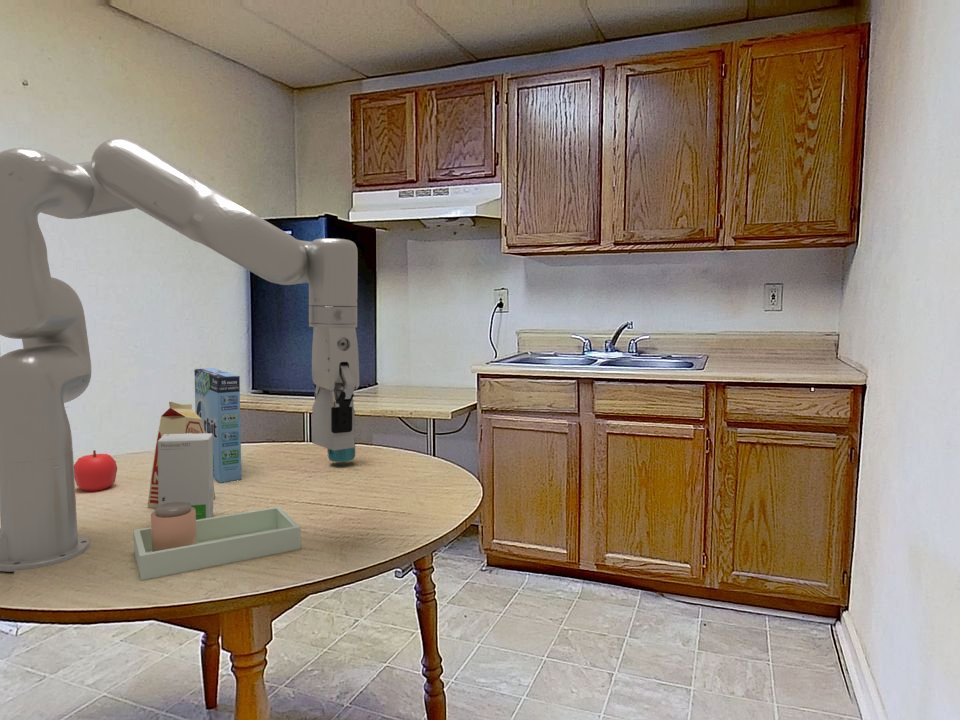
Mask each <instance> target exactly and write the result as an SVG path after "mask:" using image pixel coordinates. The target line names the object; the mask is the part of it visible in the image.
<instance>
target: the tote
mask: <svg viewBox="0 0 960 720" xmlns="http://www.w3.org/2000/svg"><path fill="white" fill-rule="evenodd" d="M132 531H133V553H134V556H135V561H136V565H137V570H138V573H139V577H140V581H141V582H142V581H146V580H152V579H154V578H155V579H156V578H161V577H165V576H167V577H168V576H171V575H172V576H173V575H176V574H181V573H186V572H190V571H195V570H196V571H197V570H200V569H201V570H203V569H206V568H212V567H217V566H222V565H226V564H233V563H238V562H243V561H246V560H252V559H257V558H262V557H266V556H267V557H268V556H272V555H277V554H278V555H279V554H282V553H286V552H287V553H288V552H293V551H298V550H301V549H302V537H301V534H302V532H301V531H302V530H301V526H300V525H299V524H298V523H297V522H296V521H295V520H294V519H293V518H292V517H291V516H290V515H289V514H288V513H287V512H286V511H285V510H284V509H283V508H282V507H281V506H280V505H279V506H274V507H267V508H262V509H255V510H247V511H243V512H236V513H231V514H224V515H218V516H213V517H211V518H205V519H199V520H196V534H197V544H194V545H188V546H182V547H177V548H171V549H166V550H160V551H155V552H152V534H151V526H150V527H144V528H138V529H133V530H132Z"/></svg>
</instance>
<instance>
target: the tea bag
mask: <svg viewBox="0 0 960 720" xmlns="http://www.w3.org/2000/svg"><path fill="white" fill-rule="evenodd" d="M338 387H344V385H342V386H338ZM339 396H340V393H338V398H339ZM353 406H354V405H353ZM353 406H352V431H351V432H344V433H333V432H332V431H331V407H334V405H333V399H332V393H331V391H330V390H327V389H324V388H320V391H319V393H318V396H317V398H316V400H315V399H314V402H313V405H312V407H311V408H312V409H311V411H312V412H311V413H312V420H311V421H312V425H311V426H312V428H311V429H312V431H311V432H312V433H311V434H312V439H311V440H312V441H311V443H312V444H314V445H316V446H320V447H322V448H325V449H327V448H328V449H331V450H334V451H335V450H341V449H348V448H354V436H355V434H354V433H356V431H355V430H356V428H355V427H356V426H355V420H356V418H355V416H356V414H355V412H356V411H355V409H354V408H353Z"/></svg>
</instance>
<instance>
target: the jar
mask: <svg viewBox="0 0 960 720" xmlns="http://www.w3.org/2000/svg"><path fill="white" fill-rule="evenodd" d="M150 527H151V534H152V552H155V551H160V550H166V549H171V548H177V547H182V546H188V545H194V544H197V534H196V510H195V508H194V507H191V504H190V503H187V502H172V503H166V504H163V505H160V506H158V507H156V508H154V511H152V512H151V513H150Z"/></svg>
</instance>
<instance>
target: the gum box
mask: <svg viewBox="0 0 960 720" xmlns="http://www.w3.org/2000/svg"><path fill="white" fill-rule="evenodd" d="M193 372H194V401H195V402H194V404H195V405H194V409H195V410H194V412H195V413H196V414H197V415H198V416H199V417H200V418H201V419H202V421H203V426H204V430H205V433H212V434H213V479H214V480H216V481H218V483H219V484H224V482H225V483H230V482H231V481H232V482H237V480H238V481H241V480H242V479H243V478H242V439H241V438H242V435H241V434H242V433H241V429H242V427H241V394H240V393H241V390H240V389H241V388H240V387H241V383H240V382H241V381H240V377H241V376H240V375H238V374H234V373H231V372H228V371H225V370H221V369H217V368H214V367H212V368H211V367H208V368H195V369H194V371H193ZM232 482H231V483H232Z"/></svg>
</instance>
